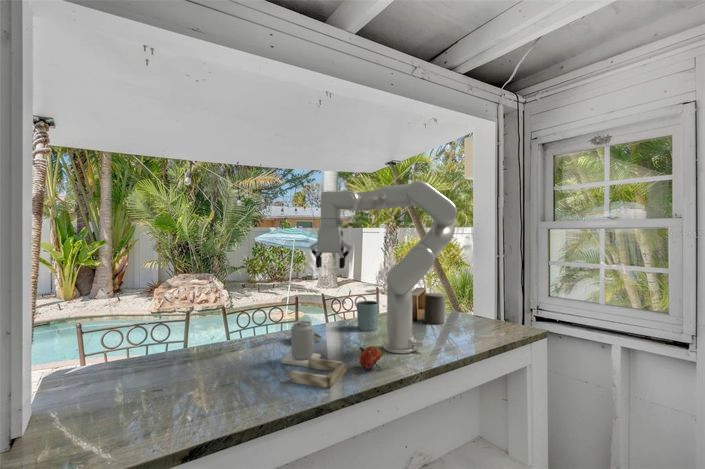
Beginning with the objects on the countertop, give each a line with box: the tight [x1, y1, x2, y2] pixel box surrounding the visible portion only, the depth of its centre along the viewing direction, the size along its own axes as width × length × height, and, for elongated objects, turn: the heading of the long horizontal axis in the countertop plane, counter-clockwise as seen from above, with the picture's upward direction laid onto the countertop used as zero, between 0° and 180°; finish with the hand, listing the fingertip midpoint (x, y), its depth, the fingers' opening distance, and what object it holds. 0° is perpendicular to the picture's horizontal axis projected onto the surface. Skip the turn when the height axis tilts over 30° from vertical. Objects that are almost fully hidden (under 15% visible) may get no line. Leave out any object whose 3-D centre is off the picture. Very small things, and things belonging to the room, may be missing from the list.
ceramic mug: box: [311, 323, 323, 342], centre depth 149 cm, size 11×8×8 cm
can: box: [290, 320, 314, 360], centre depth 128 cm, size 8×8×12 cm
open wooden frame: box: [289, 358, 348, 389], centre depth 113 cm, size 13×13×3 cm
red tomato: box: [358, 345, 383, 371], centre depth 120 cm, size 7×7×10 cm
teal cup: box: [356, 300, 379, 332], centre depth 168 cm, size 10×10×12 cm
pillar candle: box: [423, 291, 446, 326], centre depth 180 cm, size 10×10×15 cm
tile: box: [280, 352, 322, 368], centre depth 128 cm, size 10×10×1 cm
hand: (330, 267), depth 143 cm, fingers open, 9 cm apart
